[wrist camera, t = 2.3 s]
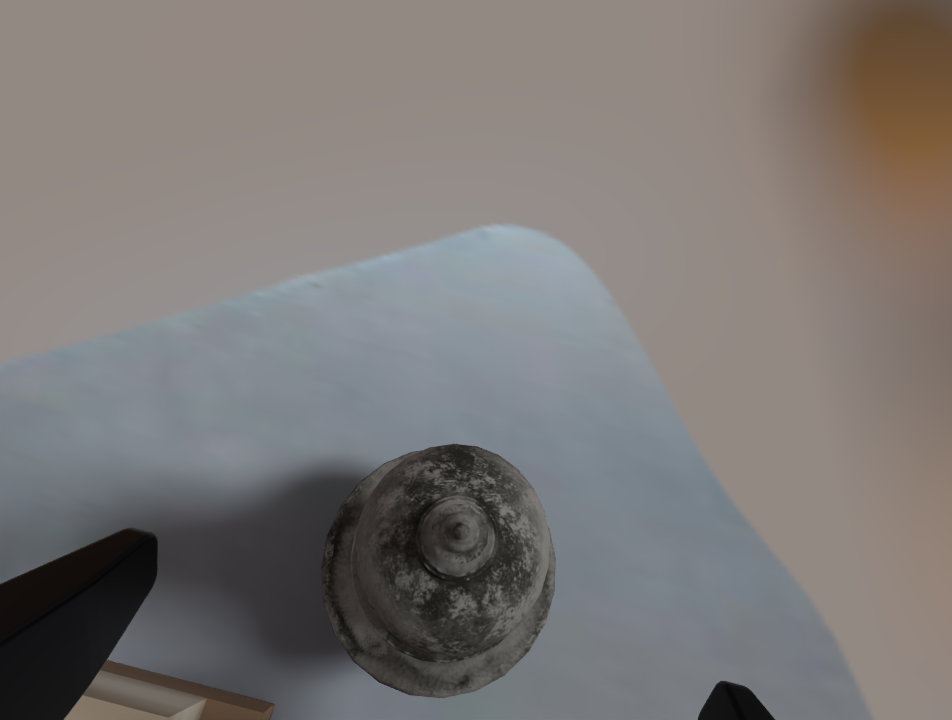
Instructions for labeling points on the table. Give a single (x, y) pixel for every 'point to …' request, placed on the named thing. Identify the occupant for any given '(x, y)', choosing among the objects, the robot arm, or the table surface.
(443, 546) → the salt shaker
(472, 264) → the table surface
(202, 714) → the board
